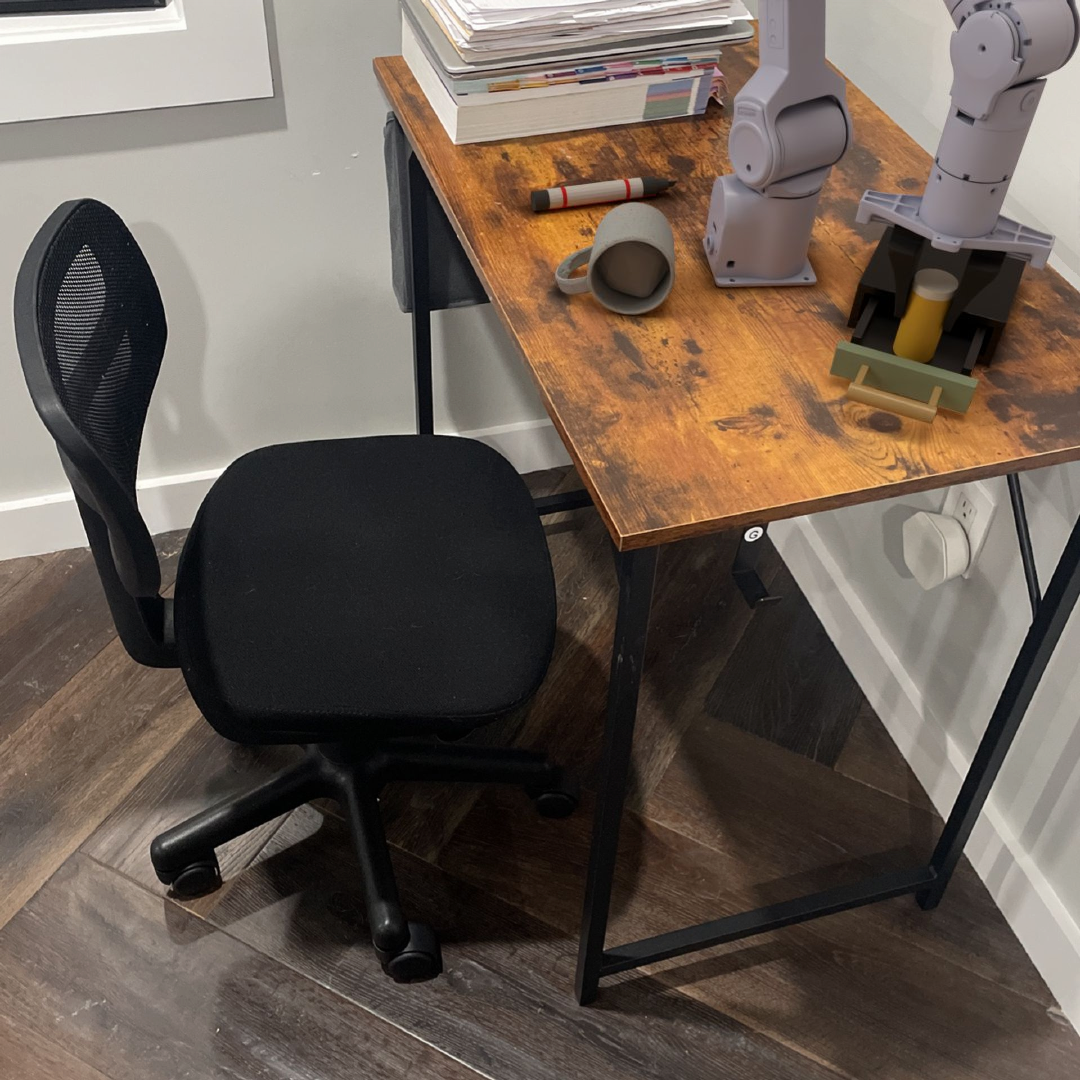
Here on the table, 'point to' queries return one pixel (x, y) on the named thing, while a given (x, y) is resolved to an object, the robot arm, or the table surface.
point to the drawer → (908, 366)
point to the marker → (598, 192)
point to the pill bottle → (925, 314)
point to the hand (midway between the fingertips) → (923, 317)
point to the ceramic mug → (625, 261)
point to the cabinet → (982, 309)
